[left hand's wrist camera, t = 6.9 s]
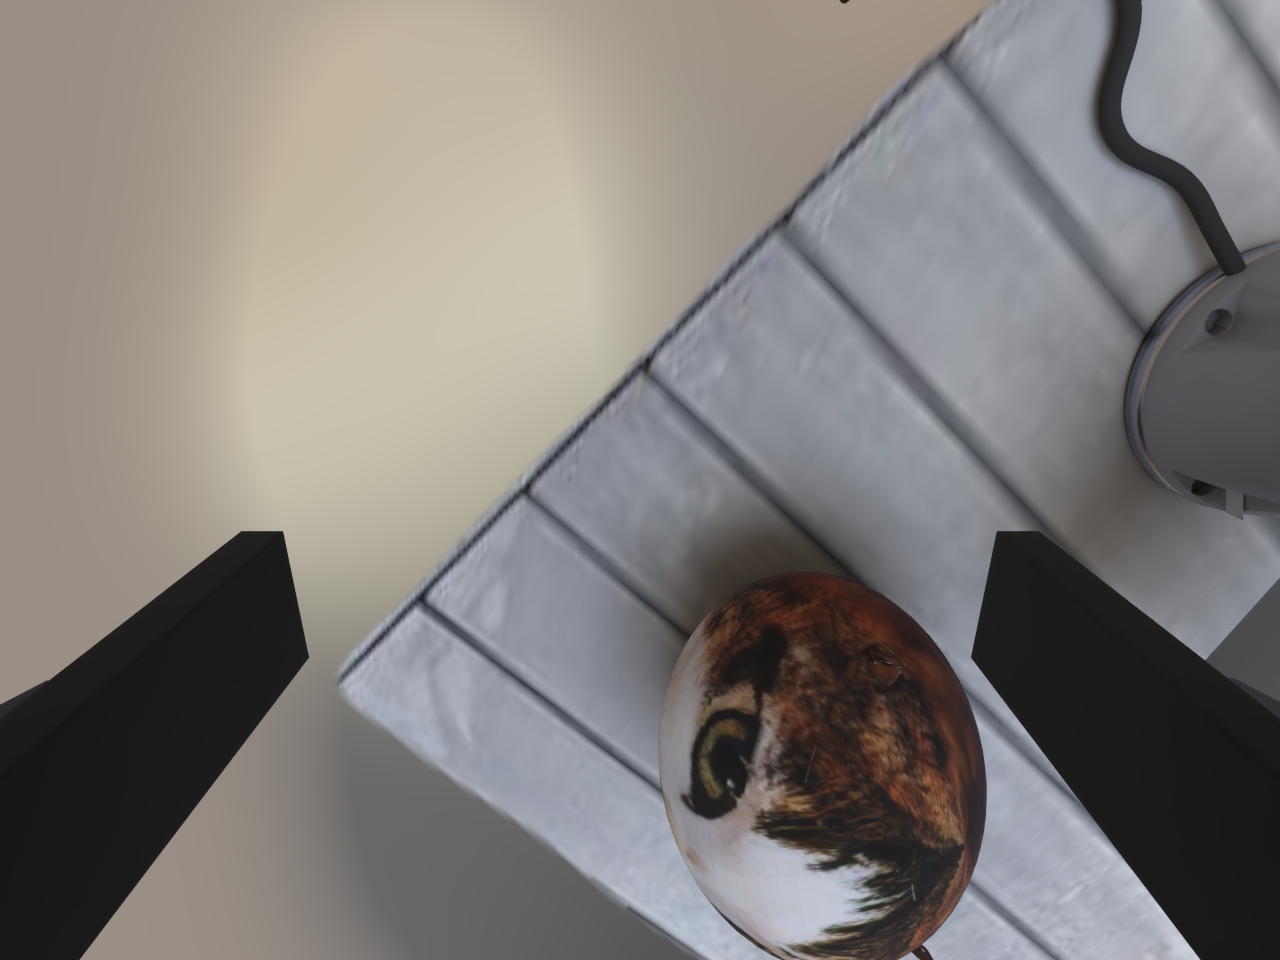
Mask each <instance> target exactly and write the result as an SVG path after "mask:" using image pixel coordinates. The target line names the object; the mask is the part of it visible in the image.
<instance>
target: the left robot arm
mask: <svg viewBox="0 0 1280 960" xmlns="http://www.w3.org/2000/svg"><path fill="white" fill-rule="evenodd" d="M848 1H850V0H840V2H841V3H844V4H846V3H847V2H848ZM1117 3H1118V13H1119V22H1118V31H1117V37H1116V41H1115V46H1114V49H1113V53H1112V56H1111V59H1110V62H1109V66H1108V69H1107V72H1106V75H1105V79H1104V83H1103V87H1102V91H1101V97H1100V105H1099V117H1100V125H1101V129H1102V133H1103V136H1104V138H1105V140H1106V142H1107V144H1108V146H1109V147H1110V149H1111V150H1112V152H1113V153H1114V154H1115V155H1116V156H1117V157H1118V158H1119V159H1121V160H1122V161H1124V162H1125V163H1127V164H1129V165H1130V166H1132V167H1134V168H1137V169H1139V170H1141V171H1144V172H1146V173H1149V174H1151V175H1153V176H1156V177H1158V178H1160V179H1162V180H1163V181H1165V182H1167V183H1168V184H1170V185H1171V186H1172V187H1174V188H1175V189H1176V190H1177V191H1178V192H1179V194H1180V195H1181V196H1182V197H1183V199H1184V200H1185V201H1186V203H1187V205H1188V206H1189V208H1190V210H1191V212H1192V214H1193V216H1194V218H1195V220H1196V222H1197V224H1198V226H1199V229H1200V231H1201V232H1202V234H1203V236H1204V238H1205V240H1206V242H1207V243H1208V245H1209V247H1210V249H1211V251H1212V252H1213V254H1214V256H1215V258H1216V260H1217V262H1218V263H1219V265H1220V266H1218V267H1216V268H1215V269H1213V270H1212V271H1210V272H1209V273H1207V274H1206V275H1204V276H1203V277H1202V278H1201V279H1199V280H1198V281H1197V282H1195V283H1194V284H1193V285H1192V286H1191V287H1189V288H1188V289H1187V290H1186V291H1185V292H1184V293H1183V294H1182V295H1181V296H1180V297H1179V298H1178V299H1177V300H1176V301H1175V302H1174V303H1173V304H1172V305H1171V306H1170V307H1169V308H1168V309H1167V311H1166V312H1165V313H1164V314H1163V315H1162V317H1161V318H1160V319H1159V321H1158V322H1157V323H1156V325H1155V326H1154V328H1153V329H1152V331H1151V332H1150V334H1149V336H1148V337H1147V339H1146V340H1145V342H1144V344H1143V346H1142V348H1141V350H1140V352H1139V354H1138V356H1137V359H1136V361H1135V364H1134V366H1133V369H1132V373H1131V376H1130V379H1129V383H1128V389H1127V394H1126V404H1125V419H1126V427H1127V433H1128V437H1129V441H1130V443H1131V446H1132V449H1133V451H1134V453H1135V455H1136V457H1137V459H1138V460H1139V462H1140V463H1141V465H1142V466H1143V467H1144V469H1145V470H1146V471H1147V472H1148V473H1149V474H1150V475H1151V476H1152V477H1153V478H1154V479H1155V480H1156V481H1158V482H1159V483H1160V484H1162V485H1163V486H1165V487H1166V488H1168V489H1170V490H1172V491H1174V492H1176V493H1178V494H1180V495H1182V496H1184V497H1186V498H1188V499H1190V500H1192V501H1194V502H1196V503H1199V504H1202V505H1205V506H1209V507H1212V508H1216V509H1219V510H1223V511H1226V512H1227V513H1229V514H1231V515H1233V516H1235V517H1237V518H1239V519H1241V520H1243V514H1251V515H1260V516H1268V517H1277V518H1280V242H1277V243H1273V244H1269V245H1265V246H1262V247H1259V248H1256V249H1253V250H1250V251H1248V252H1245V253H1243V254H1241V255H1240V253H1239V251H1238V249H1237V247H1236V246H1235V244H1234V242H1233V240H1232V238H1231V236H1230V235H1229V233H1228V231H1227V229H1226V227H1225V225H1224V224H1223V222H1222V220H1221V218H1220V216H1219V213H1218V211H1217V209H1216V207H1215V205H1214V203H1213V201H1212V199H1211V197H1210V195H1209V193H1208V192H1207V190H1206V189H1205V187H1204V186H1203V184H1202V183H1201V182H1200V181H1199V179H1198V178H1197V177H1196V176H1195V175H1194V174H1193V173H1192V172H1191V171H1189V170H1188V169H1187V168H1185V167H1184V166H1182V165H1181V164H1179V163H1177V162H1176V161H1173V160H1171V159H1169V158H1167V157H1165V156H1162V155H1160V154H1157V153H1155V152H1153V151H1150V150H1148V149H1146V148H1144V147H1143V146H1141V145H1140V144H1138V143H1137V142H1136V141H1135V140H1134V139H1133V138H1132V137H1131V136H1130V135H1129V133H1128V132H1127V130H1126V128H1125V125H1124V123H1123V119H1122V114H1121V98H1122V93H1123V88H1124V84H1125V80H1126V77H1127V73H1128V70H1129V67H1130V64H1131V61H1132V58H1133V55H1134V51H1135V48H1136V44H1137V40H1138V36H1139V31H1140V25H1141V14H1142V4H1141V0H1117ZM308 658H309V655H308V650H307V646H306V641H305V636H304V631H303V626H302V621H301V616H300V611H299V607H298V602H297V597H296V592H295V587H294V582H293V578H292V573H291V568H290V563H289V558H288V553H287V548H286V544H285V539H284V534H283V531H241V532H240V533H238V534H237V535H236V536H235V537H233V538H232V539H231V540H229V541H228V542H227V543H226V544H224V545H223V546H222V547H220V548H219V549H218V550H217V551H215V552H214V553H213V554H211V555H210V556H209V557H208V558H206V559H205V560H204V561H202V562H201V563H200V564H199V565H197V566H196V567H195V568H193V569H192V570H191V571H190V572H188V573H187V574H186V575H184V576H183V577H182V578H181V579H179V580H178V581H177V582H175V583H174V584H173V585H172V586H170V587H169V588H168V589H166V590H165V591H164V592H163V593H161V594H160V595H159V596H157V597H156V598H155V599H154V600H152V601H151V602H150V603H148V604H147V605H146V606H145V607H143V608H142V609H141V610H139V611H138V612H137V613H135V614H134V615H133V616H132V617H130V618H129V619H128V620H126V621H125V622H124V623H123V624H121V625H120V626H119V627H117V628H116V629H115V630H114V631H112V632H111V633H110V634H109V635H107V636H106V637H105V638H103V639H102V640H101V641H99V642H98V643H97V644H96V645H94V646H93V647H92V648H91V649H89V650H88V651H87V652H85V653H84V654H83V655H81V656H80V657H79V658H78V659H76V660H75V661H74V662H72V663H71V664H70V665H69V666H67V667H66V668H65V669H63V670H62V671H61V672H60V673H58V674H57V675H56V676H54V677H53V678H52V679H51V680H49V681H45V682H43V683H41V684H39V685H37V686H35V687H33V688H31V689H29V690H28V691H26V692H24V693H22V694H20V695H18V696H16V697H14V698H12V699H10V700H8V701H6V702H4V703H2V704H1V705H0V960H80V958H81V957H82V956H83V954H84V953H85V952H86V951H87V949H88V948H89V947H90V945H91V944H92V943H93V941H94V940H95V939H96V937H97V936H98V935H99V933H100V932H101V931H102V929H103V928H104V927H105V925H106V924H107V923H108V922H109V920H110V919H111V918H112V916H113V915H114V914H115V912H116V911H117V910H118V908H119V907H120V906H121V904H122V903H123V902H124V900H125V899H126V898H127V897H128V895H129V894H130V893H131V891H132V890H133V889H134V887H135V886H136V885H137V883H138V882H139V881H140V879H141V878H142V877H143V875H144V874H145V873H146V871H147V870H148V869H149V868H150V866H151V865H152V864H153V862H154V861H155V860H156V858H157V857H158V856H159V854H160V853H161V852H162V850H163V849H164V848H165V846H166V845H167V844H168V843H169V841H170V840H171V839H172V837H173V836H174V835H175V833H176V832H177V831H178V829H179V828H180V827H181V825H182V824H183V823H184V821H185V820H186V819H187V818H188V816H189V815H190V814H191V812H192V811H193V810H194V808H195V807H196V806H197V804H198V803H199V802H200V800H201V799H202V798H203V796H204V795H205V794H206V792H207V791H208V790H209V789H210V787H211V786H212V785H213V783H214V782H215V781H216V779H217V778H218V777H219V775H220V774H221V773H222V771H223V770H224V769H225V767H226V766H227V765H228V764H229V762H230V761H231V760H232V758H233V757H234V756H235V754H236V753H237V752H238V750H239V749H240V748H241V746H242V745H243V744H244V742H245V741H246V740H247V738H248V737H249V736H250V734H251V733H252V732H253V731H254V729H255V728H256V727H257V725H258V724H259V723H260V721H261V720H262V719H263V717H264V716H265V715H266V713H267V712H268V711H269V710H270V708H271V707H272V706H273V704H274V703H275V702H276V700H277V699H278V698H279V696H280V695H281V694H282V692H283V691H284V690H285V688H286V687H287V686H288V685H289V683H290V682H291V680H292V679H293V678H294V677H295V675H296V674H297V673H298V671H299V670H300V669H301V667H302V666H303V665H304V663H305V662H306V661H307V659H308ZM971 658H972V659H973V661H974V662H975V663H976V665H977V666H978V667H979V669H980V670H981V671H982V673H983V674H984V675H985V677H986V678H987V679H988V681H989V682H990V683H991V685H992V686H993V687H994V688H995V690H996V691H997V692H998V694H999V695H1000V696H1001V698H1002V699H1003V700H1004V702H1005V703H1006V704H1007V706H1008V707H1009V708H1010V710H1011V711H1012V712H1013V713H1014V715H1015V716H1016V717H1017V719H1018V720H1019V721H1020V723H1021V724H1022V725H1023V727H1024V728H1025V729H1026V731H1027V732H1028V733H1029V735H1030V736H1031V737H1032V739H1033V740H1034V741H1035V742H1036V744H1037V745H1038V746H1039V748H1040V749H1041V750H1042V752H1043V753H1044V754H1045V756H1046V757H1047V758H1048V760H1049V761H1050V762H1051V764H1052V765H1053V766H1054V767H1055V769H1056V770H1057V771H1058V773H1059V774H1060V775H1061V777H1062V778H1063V779H1064V781H1065V782H1066V783H1067V785H1068V786H1069V787H1070V789H1071V790H1072V791H1073V792H1074V794H1075V795H1076V796H1077V798H1078V799H1079V800H1080V802H1081V803H1082V804H1083V806H1084V807H1085V808H1086V810H1087V811H1088V812H1089V814H1090V815H1091V816H1092V818H1093V819H1094V820H1095V821H1096V823H1097V824H1098V825H1099V827H1100V828H1101V829H1102V831H1103V832H1104V833H1105V835H1106V836H1107V837H1108V839H1109V840H1110V841H1111V843H1112V844H1113V845H1114V846H1115V848H1116V849H1117V850H1118V852H1119V853H1120V854H1121V856H1122V857H1123V858H1124V860H1125V861H1126V862H1127V864H1128V865H1129V866H1130V868H1131V869H1132V870H1133V872H1134V873H1135V874H1136V875H1137V877H1138V878H1139V879H1140V881H1141V882H1142V883H1143V885H1144V886H1145V887H1146V889H1147V890H1148V891H1149V893H1150V894H1151V895H1152V897H1153V898H1154V899H1155V900H1156V902H1157V903H1158V904H1159V906H1160V907H1161V908H1162V910H1163V911H1164V912H1165V914H1166V915H1167V916H1168V918H1169V919H1170V920H1171V922H1172V923H1173V924H1174V925H1175V927H1176V928H1177V929H1178V931H1179V932H1180V933H1181V935H1182V936H1183V937H1184V939H1185V940H1186V941H1187V943H1188V944H1189V945H1190V947H1191V948H1192V949H1193V951H1194V952H1195V953H1196V954H1197V956H1198V957H1199V958H1200V960H1280V578H1279V579H1278V581H1277V582H1276V583H1275V584H1274V585H1273V586H1272V587H1271V588H1270V589H1269V590H1268V592H1267V593H1266V594H1265V595H1264V596H1263V597H1262V598H1261V599H1260V600H1259V602H1258V603H1257V604H1256V605H1255V606H1254V607H1253V608H1252V609H1251V610H1250V612H1249V613H1248V614H1247V615H1246V616H1245V617H1244V618H1243V619H1242V620H1241V621H1240V623H1239V624H1238V625H1237V626H1236V627H1235V628H1234V629H1233V630H1232V631H1231V633H1230V634H1229V635H1228V636H1227V637H1226V638H1225V639H1224V640H1223V641H1222V642H1221V644H1220V645H1219V646H1218V647H1217V648H1216V649H1215V650H1214V651H1213V652H1212V654H1211V655H1210V656H1209V657H1208V658H1207V659H1206V660H1204V659H1202V658H1201V657H1200V656H1199V655H1197V654H1196V653H1195V652H1193V651H1192V650H1191V649H1190V648H1188V647H1187V646H1186V645H1184V644H1183V643H1182V642H1181V641H1179V640H1178V639H1177V638H1175V637H1174V636H1173V635H1172V634H1170V633H1169V632H1168V631H1166V630H1165V629H1164V628H1163V627H1161V626H1160V625H1159V624H1157V623H1156V622H1155V621H1154V620H1152V619H1151V618H1150V617H1148V616H1147V615H1146V614H1145V613H1143V612H1142V611H1141V610H1139V609H1138V608H1137V607H1136V606H1134V605H1133V604H1132V603H1130V602H1129V601H1128V600H1126V599H1125V598H1124V597H1123V596H1121V595H1120V594H1119V593H1117V592H1116V591H1115V590H1114V589H1112V588H1111V587H1110V586H1108V585H1107V584H1106V583H1105V582H1103V581H1102V580H1101V579H1099V578H1098V577H1097V576H1096V575H1094V574H1093V573H1092V572H1090V571H1089V570H1088V569H1087V568H1085V567H1084V566H1083V565H1081V564H1080V563H1079V562H1078V561H1076V560H1075V559H1074V558H1072V557H1071V556H1070V555H1069V554H1067V553H1066V552H1065V551H1063V550H1062V549H1061V548H1060V547H1058V546H1057V545H1056V544H1054V543H1053V542H1052V541H1051V540H1049V539H1048V538H1047V537H1045V536H1044V535H1043V534H1042V533H1040V532H1039V531H997V534H996V539H995V543H994V548H993V553H992V558H991V563H990V568H989V573H988V577H987V582H986V587H985V592H984V597H983V602H982V607H981V611H980V616H979V621H978V626H977V631H976V636H975V641H974V645H973V650H972V655H971Z"/></svg>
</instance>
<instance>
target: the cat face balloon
mask: <svg viewBox="0 0 1280 960" xmlns="http://www.w3.org/2000/svg"><path fill="white" fill-rule="evenodd" d="M659 772H660V782H661V789H662V795H663V799H664V804H665V809H666V813H667V817H668V820H669V823H670V827H671V830H672V833H673V836H674V838H675V841H676V844H677V846H678V848H679V851H680V853H681V855H682V857H683V859H684V861H685V864H686V866H687V868H688V869H689V871H690V873H691V875H692V876H693V878H694V880H695V881H696V883H697V885H698V886H699V888H700V889H701V891H702V892H703V894H704V895H705V896H706V898H707V899H708V900H709V902H710V903H711V904H712V905H713V907H714V908H715V909H716V910H717V912H718V913H719V914H720V915H721V916H722V917H723V918H724V919H725V920H726V921H727V922H728V923H729V924H730V925H731V926H732V927H733V928H734V929H735V930H736V931H737V932H739V933H740V934H741V935H743V936H744V937H745V938H746V939H748V940H749V941H750V942H752V943H753V944H754V945H756V946H757V947H759V948H760V949H762V950H764V951H766V952H767V953H769V954H771V955H773V956H775V957H777V958H779V959H781V960H898V959H900V958H902V957H904V956H905V955H907V954H909V953H910V952H912V953H913V954H914V955H915V956H916V957H917V958H919V959H920V960H933V958H932V957H931V955H930V953H929V952H928V950H927V949H926V948H925V947H924V945H923V943H924V942H925V941H926V940H927V939H929V938H930V937H931V936H932V935H933V934H934V933H935V932H936V931H937V930H938V929H939V928H940V927H941V925H942V924H943V923H944V922H945V921H946V919H947V918H948V917H949V916H950V915H951V913H952V912H953V910H954V908H955V907H956V905H957V904H958V902H959V900H960V899H961V897H962V895H963V893H964V891H965V889H966V887H967V885H968V883H969V881H970V879H971V876H972V874H973V871H974V868H975V865H976V863H977V859H978V855H979V852H980V848H981V843H982V838H983V834H984V826H985V818H986V801H987V783H986V773H985V763H984V756H983V749H982V745H981V740H980V736H979V732H978V728H977V724H976V721H975V718H974V715H973V712H972V709H971V706H970V704H969V701H968V698H967V696H966V694H965V692H964V690H963V688H962V686H961V683H960V681H959V679H958V678H957V676H956V674H955V672H954V670H953V669H952V667H951V665H950V664H949V662H948V660H947V659H946V657H945V656H944V654H943V653H942V651H941V650H940V649H939V647H938V646H937V645H936V643H935V642H934V641H933V640H932V638H931V637H930V636H929V635H928V634H927V633H926V632H925V631H924V629H923V628H922V627H921V626H920V625H919V624H918V623H917V622H916V621H915V620H914V619H913V618H912V617H911V616H910V615H908V614H907V613H906V612H905V611H904V610H902V609H901V608H900V607H899V606H897V605H896V604H895V603H893V602H892V601H890V600H889V599H887V598H886V597H884V596H883V595H881V594H879V593H878V592H876V591H874V590H872V589H870V588H868V587H866V586H864V585H862V584H859V583H857V582H854V581H851V580H848V579H845V578H842V577H838V576H833V575H828V574H822V573H809V572H800V573H788V574H781V575H777V576H773V577H769V578H765V579H762V580H759V581H757V582H754V583H752V584H750V585H748V586H746V587H744V588H742V589H740V590H738V591H737V592H735V593H733V594H732V595H731V596H729V597H728V598H727V599H725V600H724V601H723V602H721V603H720V604H719V605H718V606H717V607H715V608H714V609H713V610H712V611H711V612H710V613H709V614H708V615H707V617H706V618H705V619H704V620H703V621H702V622H701V624H700V625H699V626H698V627H697V628H696V630H695V631H694V633H693V634H692V635H691V637H690V638H689V640H688V642H687V643H686V645H685V647H684V648H683V650H682V652H681V654H680V656H679V658H678V660H677V663H676V665H675V667H674V670H673V672H672V675H671V678H670V681H669V684H668V687H667V691H666V694H665V698H664V703H663V708H662V713H661V720H660V728H659Z"/></svg>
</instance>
